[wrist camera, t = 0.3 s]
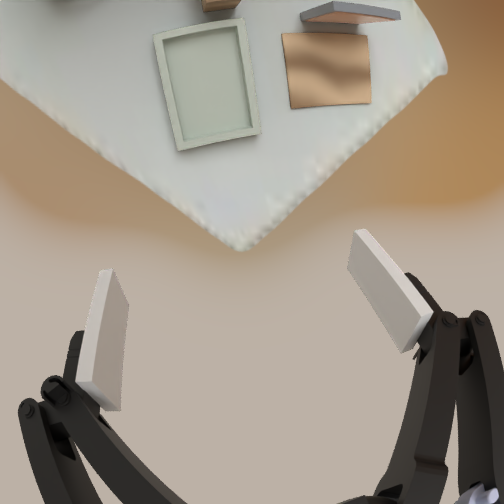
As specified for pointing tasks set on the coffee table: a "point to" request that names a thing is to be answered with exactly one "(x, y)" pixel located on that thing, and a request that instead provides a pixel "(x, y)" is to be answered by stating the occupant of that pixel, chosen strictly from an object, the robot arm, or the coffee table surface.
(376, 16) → the grey square tile
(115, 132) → the coffee table surface
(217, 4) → the block
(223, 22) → the tray
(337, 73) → the cork mat
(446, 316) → the robot arm
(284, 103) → the coffee table surface
